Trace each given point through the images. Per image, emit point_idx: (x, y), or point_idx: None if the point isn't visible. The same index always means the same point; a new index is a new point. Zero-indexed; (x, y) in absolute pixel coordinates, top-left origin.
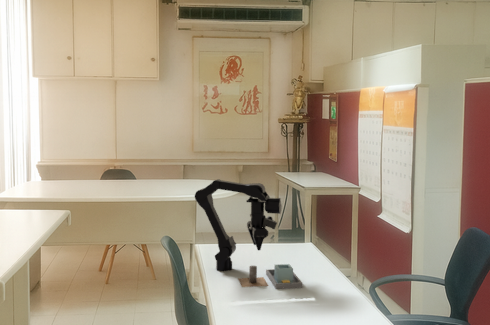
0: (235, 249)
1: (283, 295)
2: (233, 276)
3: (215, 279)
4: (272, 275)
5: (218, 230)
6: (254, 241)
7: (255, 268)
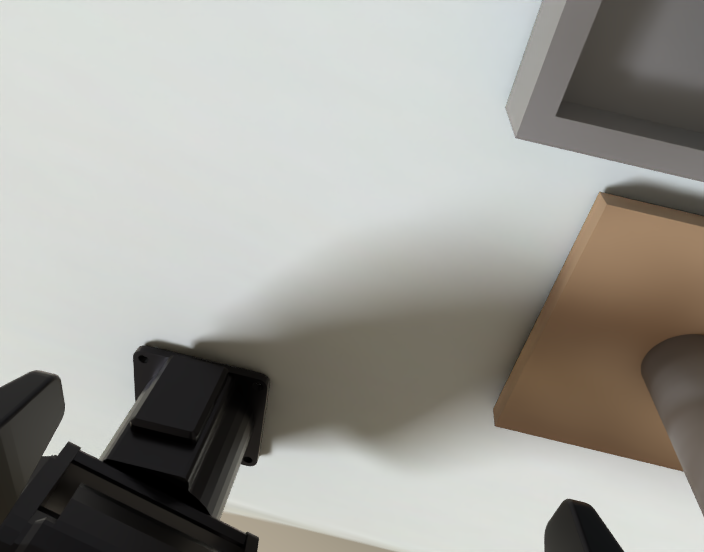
0: (65, 513)
1: None
2: (352, 386)
3: (377, 502)
4: (614, 51)
5: None
6: (4, 481)
7: None
